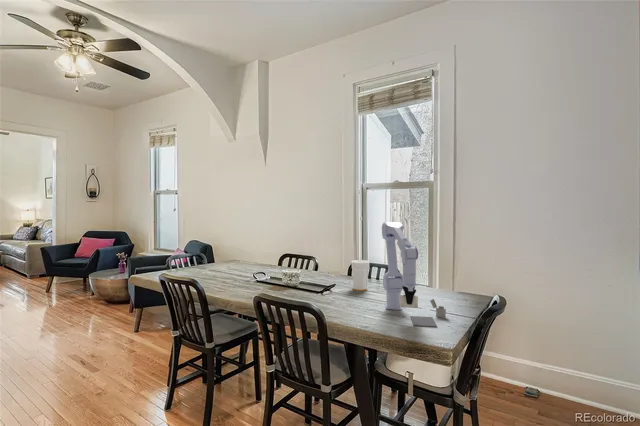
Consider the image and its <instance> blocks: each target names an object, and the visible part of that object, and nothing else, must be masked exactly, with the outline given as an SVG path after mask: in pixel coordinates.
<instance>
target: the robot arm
mask: <svg viewBox="0 0 640 426" xmlns="http://www.w3.org/2000/svg"><path fill="white" fill-rule="evenodd" d="M403 231H404V224H403V223H402V222H401V221H398V222H397V221H394V222H393V221H392V222H386V221H385V222H382V226H381V237H382V239H384V240H385V245H386V246H385V248H386V259H387V270H388V271H387V272H386V273H384V275H383V276H382V277H383V280H382V286H383V289H384V290H385V291H386V297H385V298H386V299H385V300H386V301H385V303H384V306H385V310H397V311H398V310H399V311H400V310H401V311H402V310H403V307H400V295H402V291H403V292H404V295H405V296H406V302H407V304H410V305H412V302H413V297H414V295H415V294H416V292H417V289H416V286H419V283H418V282H416V281H417V280H416V279H417V278H416V276H417V274H416V272H417V267H416V266H417V260H418V258H419V250H418V248H417V246H414V245H413V244H412V243H411V242H410V240H409V238H408V237H406V236H405V235H404V233H403ZM396 241H397V242H396ZM396 245H397V247H398V249H399V251H400V257H401V263H402V273H401V272H400V271H399V270H398V258H397V247H396Z"/></svg>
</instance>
